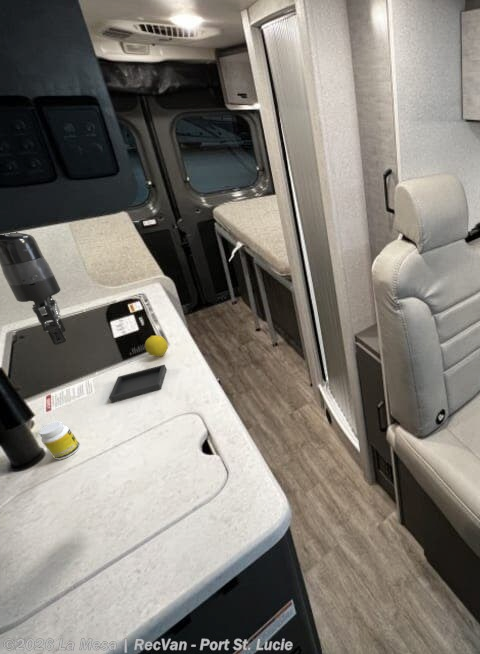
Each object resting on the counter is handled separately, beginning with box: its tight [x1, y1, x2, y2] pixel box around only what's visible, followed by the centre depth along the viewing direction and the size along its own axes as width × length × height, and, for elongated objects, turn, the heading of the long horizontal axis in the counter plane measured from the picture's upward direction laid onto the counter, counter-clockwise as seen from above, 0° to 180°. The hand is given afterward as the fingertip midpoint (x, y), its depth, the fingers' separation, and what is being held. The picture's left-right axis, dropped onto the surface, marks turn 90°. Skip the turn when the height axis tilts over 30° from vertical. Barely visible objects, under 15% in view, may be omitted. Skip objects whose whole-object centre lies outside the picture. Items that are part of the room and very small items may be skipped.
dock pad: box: [108, 364, 168, 404], centre depth 113 cm, size 12×10×2 cm
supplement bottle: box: [38, 420, 81, 460], centre depth 91 cm, size 5×5×8 cm
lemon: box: [144, 335, 169, 357], centre depth 123 cm, size 6×6×8 cm
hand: (60, 337), depth 97 cm, fingers open, 8 cm apart
